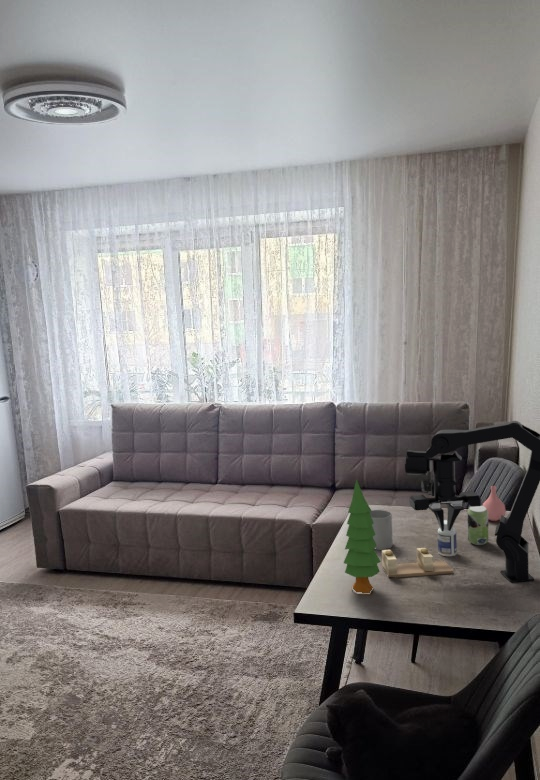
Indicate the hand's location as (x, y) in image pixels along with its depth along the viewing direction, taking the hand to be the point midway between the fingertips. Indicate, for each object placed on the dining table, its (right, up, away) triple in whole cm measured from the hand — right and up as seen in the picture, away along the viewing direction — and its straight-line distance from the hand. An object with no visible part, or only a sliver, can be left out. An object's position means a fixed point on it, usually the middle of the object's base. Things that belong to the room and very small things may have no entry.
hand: (445, 530), depth 159 cm
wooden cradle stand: (-8, -11, +1) cm, 14 cm away
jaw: (-6, -10, +1) cm, 12 cm away
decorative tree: (-25, -13, -9) cm, 29 cm away
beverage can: (+16, -9, +18) cm, 26 cm away
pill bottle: (+4, -10, +12) cm, 16 cm away
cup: (-14, -10, +22) cm, 28 cm away
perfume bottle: (+29, -6, +39) cm, 49 cm away
